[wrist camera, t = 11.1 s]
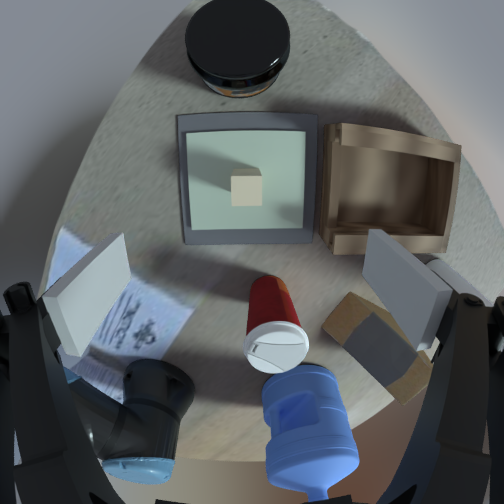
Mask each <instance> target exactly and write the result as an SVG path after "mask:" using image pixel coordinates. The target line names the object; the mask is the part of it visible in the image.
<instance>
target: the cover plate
mask: <svg viewBox="0 0 504 504" xmlns="http://www.w3.org/2000/svg"><path fill="white" fill-rule="evenodd" d="M186 137H187V163H188V182H189V198H190V212H191V225H192V230H212V229H270V228H303V207H304V181H305V132H301V131H217V132H199V133H186Z"/></svg>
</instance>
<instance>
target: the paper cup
mask: <svg viewBox="0 0 504 504" xmlns="http://www.w3.org/2000/svg"><path fill="white" fill-rule="evenodd" d="M308 349H309V342H308V337H307V335H306V333H305V331H304V330H303V329H302V328H301V325H300V322H299V320H298V317H297V314H296V311H295V308H294V306H293V303H292V300H291V298H290V295H289V292H288V290H287V288H286V285H285V284H284V282H283V281H282V280H281V279H280V278H278V277H275V276H263V277H261V278H259V279H257V280H256V281H255V282H254V283H253V285H252V287H251V291H250V299H249V310H248V321H247V331H246V338H245V340H244V343H243V351H244V354H245V356H246V358H247V359H248V361H249V362H250V364H251V365H252V366H253V367H254V368H256V369H258V370H260V371H262V372H266V373H282V372H286V371H288V370H290V369H292V368H294V367H296V366H297V365H298V364H299V363H300V362H301V361H302V360H303V359H304V358H305V356H306V353H307V351H308Z"/></svg>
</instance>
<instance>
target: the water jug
mask: <svg viewBox="0 0 504 504" xmlns="http://www.w3.org/2000/svg"><path fill="white" fill-rule="evenodd" d="M262 403H263V413H264V420H265V422H266V424H267V425H268V426H270V427H271V440H270V441H269V442H268V444H267V446H266V472H267V478H268V481H269V482H270V483H271V484H272V485H274V486H277V487H281V488H285V489H290V490H295V491H301V492H305V493H307V494H308V499H309V501H308V502H313V501H319V500H325V499H329V498H328V495H327V489H328V488H329V487H330V486H332V485H333V484H335V483H337V482H338V481H340V480H341V479H343V478H344V477H346V476H347V475H349V474H350V473H352V472H353V471H354V470H355V469H356V468H357V467H358V465H359V457H358V451H357V447H356V444H355V441H354V439H353V436H352V432H351V429H350V425H349V422H348V416H347V412H346V409H345V407H344V405H343V402H342V399H341V396H340V392H339V389H338V383H337V380H336V378H335V376H334V374H333V373H332V372H331V371H329V370H328V369H326V368H323V367H320V366H316V365H299V366H296V367H294V368H292V369H290V370H288V371H286V372H282V373H276V374H274V375H273V376H272V377H270V378H269V379H268V380H267V382H266V383H265V384H264V386H263V389H262Z"/></svg>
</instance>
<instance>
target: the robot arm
mask: <svg viewBox="0 0 504 504" xmlns="http://www.w3.org/2000/svg"><path fill="white" fill-rule="evenodd" d="M362 276H363V277H364V278H365V280H366V281H367V282H368V284H369V285H370V286H371V288H372V289H373V290H374V292H375V293H376V294H377V296H378V297H379V298H380V300H381V301H382V303H383V304H384V305H385V307H386V308H387V310H388V311H389V312H390V314H391V315H392V317H393V318H394V319H395V321H396V322H397V324H398V325H399V327H400V328H401V329H402V331H403V332H404V334H405V335H406V337H407V338H408V340H409V341H410V343H411V344H412V346H413V347H414V349H415V350H416V351H420V350H425V349H429V348H431V346H432V344H433V341H434V339H435V337H437V338H438V340H439V341H440V343H439V346H438V348H437V350H436V352H435V354H434V356H433V358H432V360H431V362H430V363H432V364H433V362H434V364H433V368H432V373H431V377H430V380H429V384H428V388H427V391H426V395H425V398H424V401H423V405H422V408H421V411H420V414H419V417H418V420H417V423H416V426H415V428H414V431H413V434H412V436H411V439H410V442H409V444H408V447H407V449H406V451H405V454H404V456H403V458H402V460H401V463H400V465H399V467H398V469H397V471H396V474H395V476H394V478H393V480H392V482H391V484H390V485H389V487H388V488H387V490H386V491H385V492H384V493H383V495H382V496H381V497H380V499H379V500H378V501H377V503H376V504H482V503H483V500H484V496H485V492H486V488H487V484H488V480H489V475H490V504H504V348H503V350H502V352H501V348H502V346H503V344H504V297H502V296H500V297H497V299H496V301H495V304H494V306H493V307H488V306H485V304H484V302H483V301H482V300H481V299H480V298H479V297H477V296H475V295H473V294H469V293H461V294H459V293H458V292H457V291H456V290H455V289H454V288H452V287H451V286H450V285H449V284H448V283H447V282H445V280H444V279H443V278H441V277H440V276H439V275H438V274H437V273H436V272H435V271H433V270H431V269H429V268H428V267H427V266H426V265H425V264H423V263H422V262H421V261H420V260H419V259H417V258H416V257H415V256H414V255H413V254H412V253H410V252H409V251H408V250H407V249H405V248H404V247H403V246H402V245H401V244H399V243H398V242H397V241H396V240H394V239H393V238H392V237H390V236H389V235H388V234H387V233H385V232H384V231H383V230H381V229H369V234H368V241H367V248H366V254H365V260H364V266H363V272H362ZM131 279H132V278H131V274H130V269H129V263H128V258H127V253H126V247H125V241H124V235H123V233H111V234H109V235H108V236H107V237H106V238H105V239H103V240H102V241H101V242H100V243H99V244H98V245H96V246H95V247H94V248H93V249H92V250H91V251H90V252H88V253H87V254H86V255H85V256H84V257H83V258H82V259H81V260H79V261H78V262H77V263H76V264H75V265H74V266H73V267H72V268H71V269H70V270H69V271H67V272H66V273H65V274H64V275H63V276H62V277H60V278H59V279H58V280H57V281H56V282H55V283H54V285H52V286H51V287H50V288H49V289H48V290H47V291H46V292H45V293H44V294H43V295H42V296H41V297H40V298H39V299H38V300H37V301H36V299H35V296H34V294H33V291H32V288H31V285H30V283H29V282H20V283H17V284H14V285H12V286H11V287H9V288H8V289H7V290H6V291H5V292H4V294H3V296H4V298H5V301H6V304H7V306H8V308H9V311H10V313H11V315H6V316H3V315H2V313H1V311H0V504H125V503H124V501H123V500H122V499H121V498H120V497H119V496H118V494H117V493H116V492H115V490H114V489H113V487H112V485H111V483H110V482H109V480H108V478H107V476H106V474H105V472H104V471H106V472H108V473H109V474H110V475H112V476H115V477H117V478H120V479H123V480H126V481H131V482H135V483H142V484H161V483H165V482H166V481H168V480H169V479H170V477H171V474H172V470H173V466H174V464H175V461H174V460H175V453H176V447H177V440H178V434H179V427H180V422H181V419H182V418H183V416H184V415H185V413H186V412H187V410H188V408H189V407H190V405H191V404H192V402H193V398H194V392H195V388H194V384H193V382H192V381H191V379H190V378H189V377H188V376H187V375H186V374H185V373H184V372H183V371H181V370H180V369H178V368H176V367H174V366H172V365H170V364H168V363H165V362H161V361H157V360H149V359H145V360H138V361H135V362H133V363H131V364H130V365H129V366H128V367H127V369H126V372H125V374H124V377H123V404H121V403H119V402H118V401H116V400H114V399H113V398H111V397H109V396H108V395H106V394H104V393H103V392H101V391H100V390H98V389H97V388H95V387H94V386H92V385H91V384H90V383H88V382H87V381H85V380H84V379H83V378H82V377H81V376H78V375H76V374H75V373H73V372H72V371H70V370H69V369H67V368H66V367H63V365H62V361H61V357H60V355H59V353H58V351H57V348H58V347H59V346H60V344H62V346H63V349H64V351H65V353H66V355H71V356H76V357H81V356H82V354H83V352H84V351H85V349H86V348H87V346H88V344H89V343H90V341H91V339H92V338H93V336H94V335H95V333H96V331H97V330H98V328H99V327H100V325H101V323H102V322H103V320H104V319H105V317H106V316H107V314H108V313H109V311H110V310H111V308H112V306H113V305H114V303H115V302H116V300H117V299H118V298H119V296H120V295H121V293H122V292H123V290H124V289H125V287H126V286H127V284H128V283H129V281H130V280H131ZM486 419H487V426H488V436H489V450H490V455H489V454H483V453H482V447H483V441H484V435H485V426H486ZM15 431H16V436H17V441H18V446H19V451H20V456H21V458H20V460H19V463H18V465H15V466H14V434H15ZM97 458H99V459H101V460H103V461H102V467H101V465H100V463H99V461H98V459H97ZM102 468H103V469H102ZM103 470H104V471H103ZM155 504H186V503H178V502H171V501H163V500H158V499H156V501H155ZM302 504H368V503H358V502H357V503H356V502H352V499H351V495H346V496H341V497H336V498H331V499H325V500H319V501H313V502H306V503H302Z"/></svg>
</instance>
